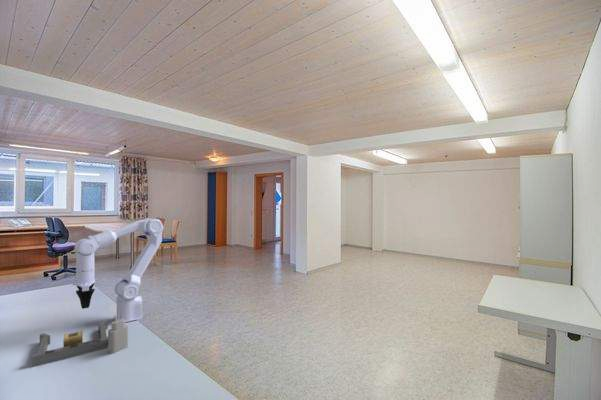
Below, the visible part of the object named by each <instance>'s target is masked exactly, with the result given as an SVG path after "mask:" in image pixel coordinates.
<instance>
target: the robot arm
mask: <svg viewBox="0 0 601 400" xmlns="http://www.w3.org/2000/svg"><path fill="white" fill-rule="evenodd" d="M135 232H143V234H145V236H146V240H147V242H146V243H145V246H144V247H143V248H142V249H141V251H140V254H139V255H138V256H137V258H136V260H135V262H134V264H133V265H132V267H131V269H130V270H129V272H128V273H127V274H126V275H124V276H123V277H122V279H121V280H120V281H118V283H116V284H115V287H114V292H115V294H116V295H117V297H116V320H119V319H120V313H121V319H125V323H129V322H133V321H137V320H142V319H143V298H142V296H141V295H138V293H139V287H140V285H141V279H142V277H143V274H145V271H146V270H147V268H148V267H149V265H150V263H151V261H152V259H153V258H154V256H155V255H156V253H157V251H158V249H159V247H160V245H161V244H162V242H163V232H164V225H163V223H162V221H161V220H160V219H157V218H150V217H145V218H143V219H139V220H137V221H134V222H131V223H129V224H126V225H124V226H122V227H120V228H118V229H116V230H109V229H108V230H107V229H103V230H101V231H100V232H99V233H97V234H94V235H88V236H87V238H82V239H79V240H78V241H77V242H76V243H75V245H74V246H73V247H74V251H76V259H75V260H76V262H75V264H76V266H75V271H76V273H75V274H76V275H75V277H76V278H75V280H76V281H74V282H72V283H71V285H72V286H76V288H77V289H78V290H76V291H75V293H76V295H77V297H78V298H79V302H80V306H81V309H89V308H90V305H91V300H92V296H93V295H94V292H95V288H93V287H94V286H95V284H96V278H95V276H96V275H95V274H96V273H95V264H96V263H95V253H96V251H97V250H100V249H102V248H106V247H107V246H110V245H112V244H114V243H116V241H117V239H119V238H121V237H124V236H127V235H130V234H133V233H135ZM137 295H138V296H137ZM132 317H133V318H132Z"/></svg>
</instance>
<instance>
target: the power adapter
mask: <svg viewBox="0 0 601 400" xmlns="http://www.w3.org/2000/svg"><path fill="white" fill-rule="evenodd" d="M116 317H117V314H115V315H114V321H112V322H111V324H110V326H111V329H107V333H108V334H107V337H108V348H107V351H108V352H107V353H109V354H116V353H118V352H121V351H123V350H125V349H126V348H128V347H129V346H128V345H129V325H127V324H126V322H125V319H121V313H120V319H119V320H116Z"/></svg>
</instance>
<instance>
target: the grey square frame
mask: <svg viewBox="0 0 601 400" xmlns="http://www.w3.org/2000/svg"><path fill="white" fill-rule="evenodd" d="M108 326H109V321H108V320H104V321H102V322H101V323H99V324H98V326H97V327H98V330H97V331H98V334H99V337H100V338H97V339H93V340H89V341H85V342H83V343H80V344H75V345H71V346H67V347H58V348H55V349H50V350H48V347H49V345H51V335H49V334H48V333H41V334H39V347H38V350H37V352H36V353H34V354H32V356H31V368H34V367H38V366H42V365H46V364H50V363H52V362H53V363H54V362H58V361H60V360H65V359H69V358H70V359H71V358H73V357H77V356H80V355H81V356H82V355H86V354H90V353H94V352H97V351H102V350H106V349H108V334H107V330H109V329H108Z"/></svg>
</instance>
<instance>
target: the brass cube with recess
mask: <svg viewBox="0 0 601 400" xmlns="http://www.w3.org/2000/svg"><path fill="white" fill-rule="evenodd" d="M83 340H84V339H83V330H79V331H75V332H71V333H65V334H63V347H67V346H71V345H75V344H80V343H84V342H83Z"/></svg>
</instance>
